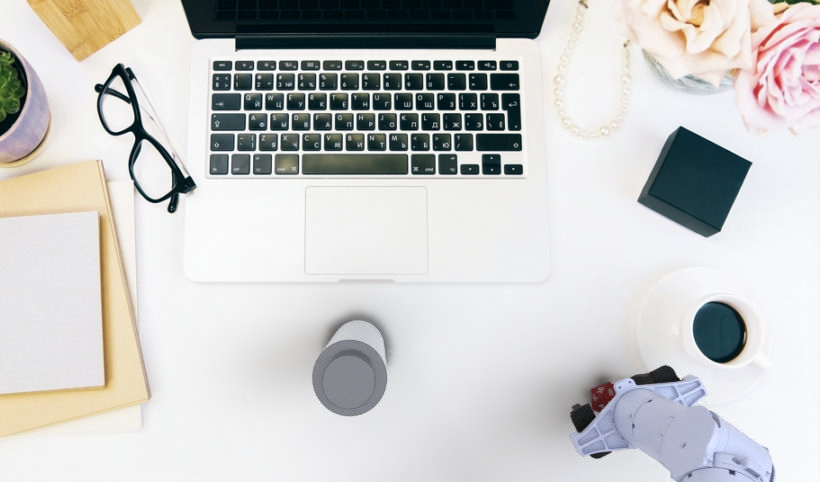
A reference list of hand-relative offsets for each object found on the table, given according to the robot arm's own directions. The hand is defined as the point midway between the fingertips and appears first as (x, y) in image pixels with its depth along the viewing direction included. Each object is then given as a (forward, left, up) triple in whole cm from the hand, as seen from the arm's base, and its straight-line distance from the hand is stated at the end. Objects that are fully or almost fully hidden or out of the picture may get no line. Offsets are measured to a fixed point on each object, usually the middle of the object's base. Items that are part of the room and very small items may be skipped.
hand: (606, 398), depth 70 cm
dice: (0, 0, -2) cm, 2 cm away
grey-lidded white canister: (+18, +24, -1) cm, 30 cm away
